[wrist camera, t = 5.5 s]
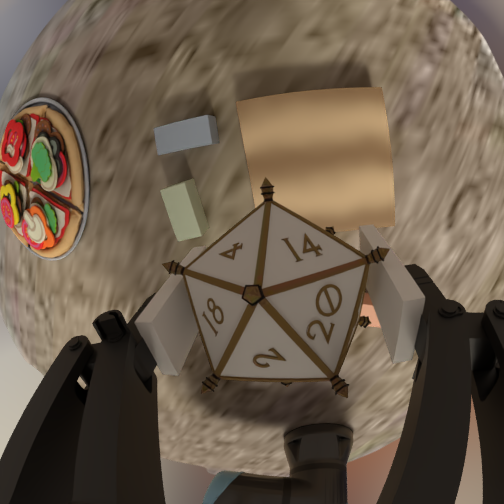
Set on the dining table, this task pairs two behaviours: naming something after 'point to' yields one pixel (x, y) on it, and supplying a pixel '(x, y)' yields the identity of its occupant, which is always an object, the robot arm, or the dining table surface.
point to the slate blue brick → (186, 134)
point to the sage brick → (185, 210)
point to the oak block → (322, 155)
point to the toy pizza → (44, 179)
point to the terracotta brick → (369, 311)
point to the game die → (277, 298)
